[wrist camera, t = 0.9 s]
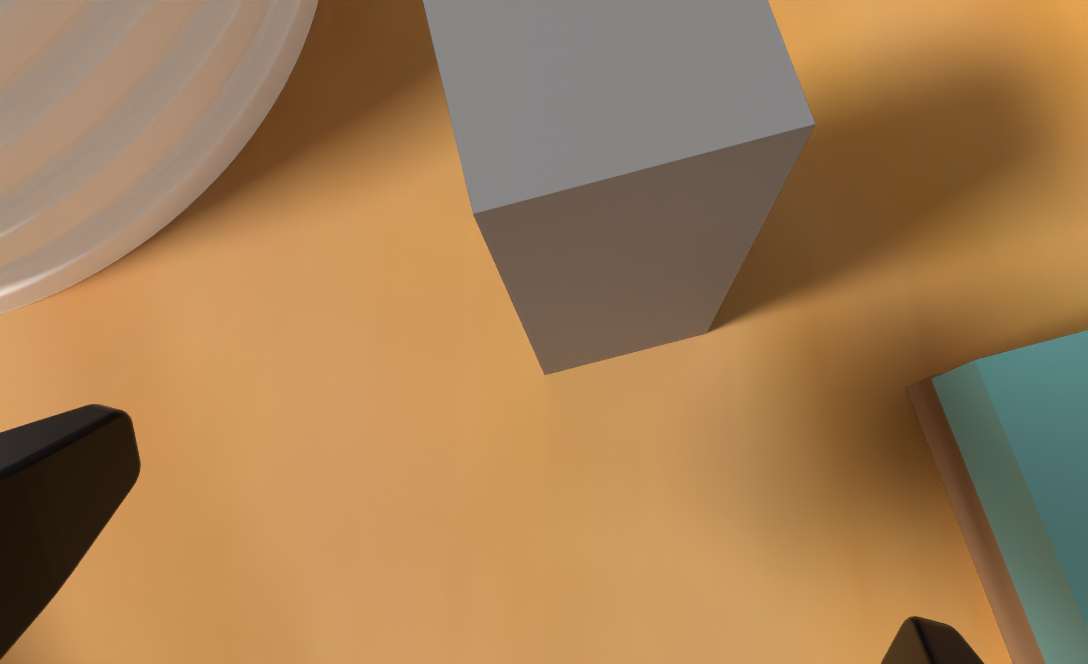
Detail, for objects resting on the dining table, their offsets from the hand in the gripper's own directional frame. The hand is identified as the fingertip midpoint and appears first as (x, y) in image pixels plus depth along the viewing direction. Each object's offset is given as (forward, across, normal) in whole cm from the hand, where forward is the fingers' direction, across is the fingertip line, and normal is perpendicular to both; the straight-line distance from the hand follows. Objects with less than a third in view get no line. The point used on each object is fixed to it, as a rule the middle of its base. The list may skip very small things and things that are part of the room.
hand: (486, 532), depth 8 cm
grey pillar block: (+15, 0, +4) cm, 15 cm away
